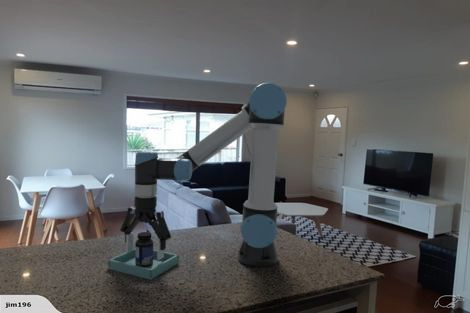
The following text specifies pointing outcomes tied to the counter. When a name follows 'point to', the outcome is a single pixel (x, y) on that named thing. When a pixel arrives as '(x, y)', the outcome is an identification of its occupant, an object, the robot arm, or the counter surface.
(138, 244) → the pill bottle
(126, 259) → the tray
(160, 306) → the counter surface
